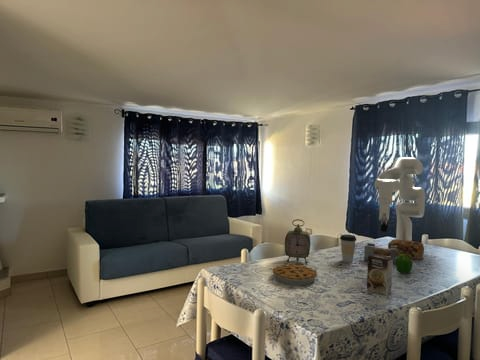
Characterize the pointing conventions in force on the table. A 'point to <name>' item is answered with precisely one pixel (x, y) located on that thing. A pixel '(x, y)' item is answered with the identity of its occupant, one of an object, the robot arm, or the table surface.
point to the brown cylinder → (383, 251)
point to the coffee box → (379, 274)
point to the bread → (408, 248)
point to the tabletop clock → (297, 243)
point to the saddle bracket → (393, 254)
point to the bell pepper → (404, 264)
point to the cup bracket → (368, 250)
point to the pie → (294, 274)
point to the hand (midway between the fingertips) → (384, 229)
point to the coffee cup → (347, 247)
